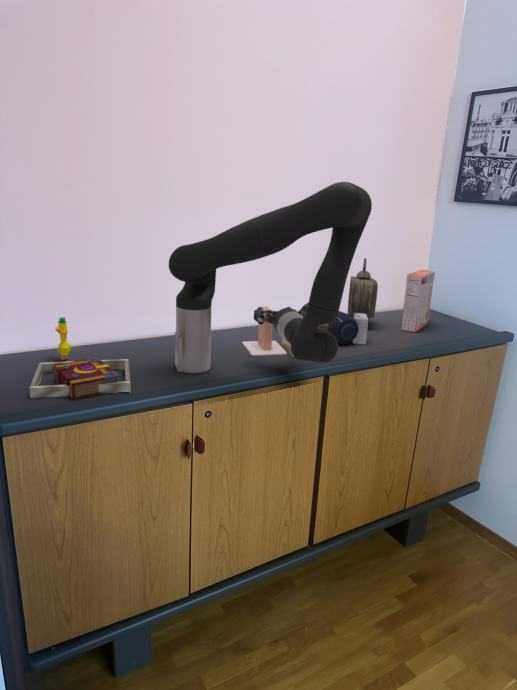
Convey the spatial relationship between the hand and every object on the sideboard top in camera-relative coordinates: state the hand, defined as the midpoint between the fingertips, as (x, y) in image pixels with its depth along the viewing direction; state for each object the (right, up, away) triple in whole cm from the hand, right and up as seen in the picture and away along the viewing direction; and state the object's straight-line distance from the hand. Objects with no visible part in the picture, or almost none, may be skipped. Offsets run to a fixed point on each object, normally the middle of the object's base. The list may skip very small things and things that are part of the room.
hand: (273, 310), depth 146 cm
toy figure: (-58, -14, -6) cm, 60 cm away
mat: (-3, -11, +12) cm, 16 cm away
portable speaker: (+19, -7, +28) cm, 34 cm away
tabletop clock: (+33, -3, +43) cm, 55 cm away
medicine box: (+29, -9, +24) cm, 39 cm away
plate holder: (+9, -12, +11) cm, 19 cm away
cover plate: (-2, -11, +12) cm, 16 cm away
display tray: (-47, -19, -20) cm, 55 cm away
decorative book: (-46, -20, -22) cm, 55 cm away
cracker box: (+54, -4, +44) cm, 69 cm away
